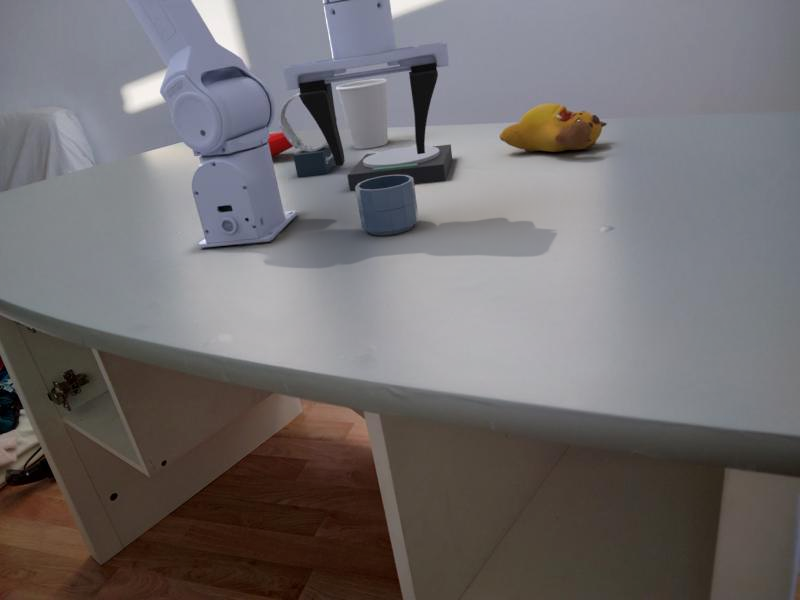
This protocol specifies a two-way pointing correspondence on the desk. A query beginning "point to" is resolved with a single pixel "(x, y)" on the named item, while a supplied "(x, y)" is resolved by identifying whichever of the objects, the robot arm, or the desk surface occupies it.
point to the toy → (553, 129)
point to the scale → (404, 164)
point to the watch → (306, 149)
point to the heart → (278, 143)
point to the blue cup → (387, 204)
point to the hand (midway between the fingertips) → (380, 157)
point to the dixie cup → (365, 112)
